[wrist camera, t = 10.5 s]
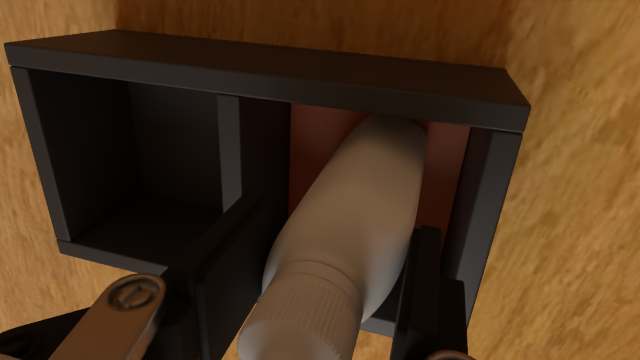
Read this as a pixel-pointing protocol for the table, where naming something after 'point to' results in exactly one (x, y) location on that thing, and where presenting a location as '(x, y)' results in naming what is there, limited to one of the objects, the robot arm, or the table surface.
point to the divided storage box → (249, 140)
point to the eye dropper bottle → (340, 246)
